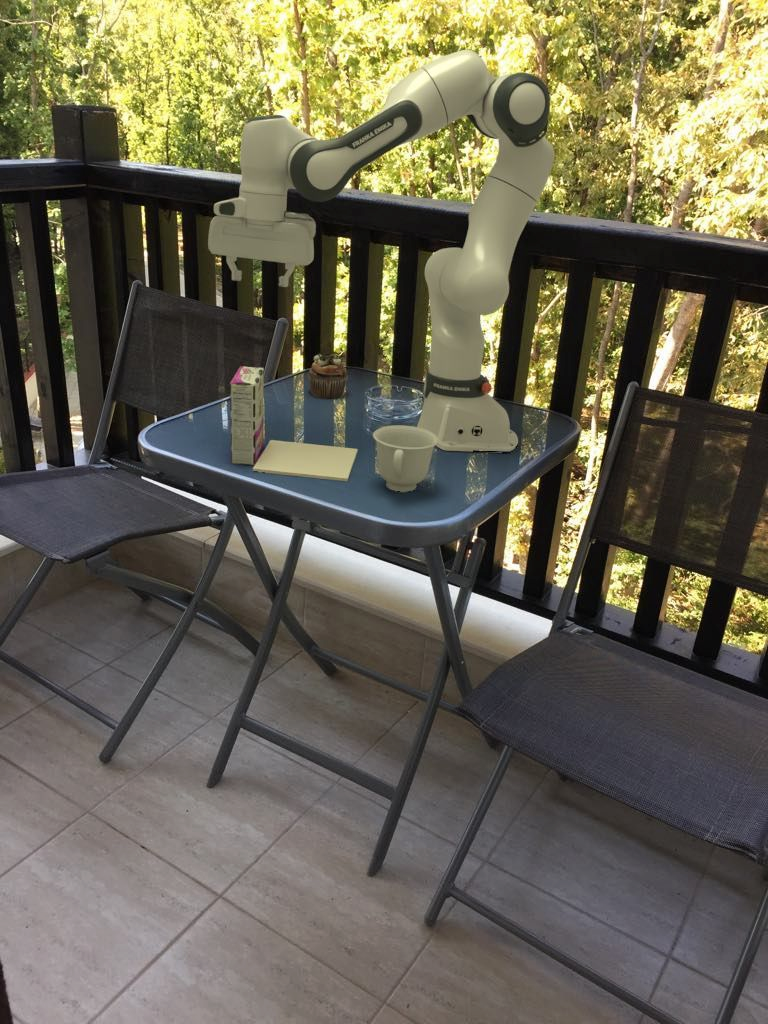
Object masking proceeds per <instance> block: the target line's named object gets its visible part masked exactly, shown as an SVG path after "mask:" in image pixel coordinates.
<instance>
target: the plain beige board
mask: <svg viewBox="0 0 768 1024" xmlns="http://www.w3.org/2000/svg"><path fill="white" fill-rule="evenodd" d="M357 455H358V448H351V447H343V446H333V445H324V444H323V445H321V444H314V443H313V444H312V443H303V442H295V441H285V440H284V441H283V440H275V439H270V440H269V442H268V444H267V445H266V447H265V449H264V450H263V451H262V453H261V455H259V457H258V459H257V462H256V464H255V465H253V467H252V472H253V471H258V472H257V473H262V472H265V473H264V474H272V475H274V474H275V475H282V476H283V475H284V476H290V477H291V476H293V477H302V478H311V479H322V480H330V481H340V482H348V481H349V478H350V475H351V471H352V469H353V467H354V464H355V460H356V457H357Z"/></svg>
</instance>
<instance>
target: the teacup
mask: <svg viewBox="0 0 768 1024" xmlns="http://www.w3.org/2000/svg"><path fill="white" fill-rule="evenodd" d="M372 437H373V439H374V440H375V442H376V452H377V468H378V473H379V475H380V477H382V479H383V480H384V481H386V482H385V486H386V488H388V489H389V490H391V491H393V490H394V491H393V492H397V491H400V492H399V493H407V492H406V491H411V492H413V491H412V490H414V489H415V488H416V487H418V486H417V484H420V483H421V482H422V481H423V480H424V479H425V478H426V476H427V475H428V472H429V468H430V465H431V460H432V455H433V451H434V448H435V446H436V444H437V443H438V441H439V440H438V438H437V436H436V435H435V434H434V433H432V432H430V431H428V430H425V429H422V428H418V427H417V426H411V425H401V424H400V425H386V426H383V427H379V428H378V429H376V430H375V431H373V433H372ZM416 489H417V488H416ZM416 489H415V490H416ZM415 490H414V491H415Z"/></svg>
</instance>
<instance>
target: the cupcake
mask: <svg viewBox="0 0 768 1024" xmlns="http://www.w3.org/2000/svg"><path fill="white" fill-rule="evenodd" d="M313 361H314V362H313V363H312V364H311V368H310V369H309V370H308V371H307V377H308V378H307V379H308V381H309V382H308V383H309V386H310V394H311V395H312V396H313V397H316V398H318V399H324V400H325V399H326V400H328V399H329V400H333V399H339V398H340V399H341V398H342V397H343V395H344V391H345V389H346V384H347V381H348V373H347V372H346V367H345V365H343V363H342V359H340V358H338V356H335V353H333V352H332V353H331V352H329V353H323V352H318V353H317V354H316V355H315V356H313Z"/></svg>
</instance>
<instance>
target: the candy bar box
mask: <svg viewBox="0 0 768 1024" xmlns="http://www.w3.org/2000/svg"><path fill="white" fill-rule="evenodd" d="M264 369H265V368H264V367H257V366H256V367H255V366H245V365H244V366H239V368H238V370H237V371H236V373H235V374H234V376H233V378H232V379H231V381H230V383H229V390H230V393H229V394H230V398H229V399H230V401H229V402H230V403H229V404H230V408H229V409H230V450H231V451H230V452H231V453H230V455H231V457H230V459H231V460H230V461H231V462H230V463H231V464H233V465H238V464H240V465H241V464H243V465H242V466H255V464H256V463H257V461H258V459H259V458H260V456H261V455H260V454H261V452H262V450H263V447H264V408H265V407H264V401H265V400H264V393H265V392H264V384H265V383H264V379H265V378H264V373H265V372H264ZM240 465H239V466H240Z"/></svg>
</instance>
